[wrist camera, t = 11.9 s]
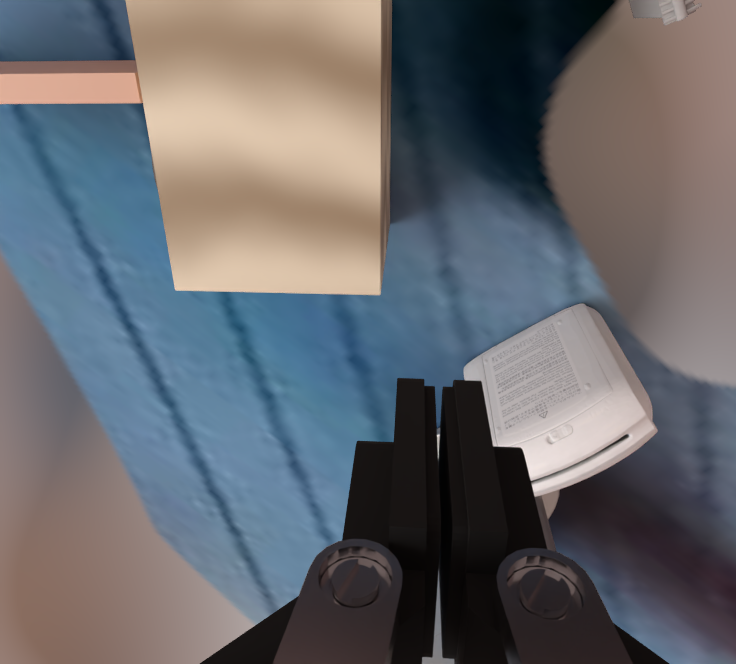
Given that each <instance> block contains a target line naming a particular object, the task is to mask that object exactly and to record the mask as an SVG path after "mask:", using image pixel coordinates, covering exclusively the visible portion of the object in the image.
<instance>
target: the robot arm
mask: <svg viewBox="0 0 736 664" xmlns="http://www.w3.org/2000/svg"><path fill="white" fill-rule="evenodd" d="M559 490H560V489H559ZM559 490H557V491H554V492H550V493H547V494H544V495H540V496H536V497H535V496H534V492H533V488H532V484H531V480H530V476H529V472H528V468H527V464H526V460H525V456H524V453H523V450H522V449H521V447H498V446H493V443H492V437H491V431H490V426H489V420H488V414H487V409H486V403H485V398H484V392H483V386H482V382H481V381H470V380H454V381H453V387H443V390H442V406H441V423H440V428H438V429H437V426H436V404H435V387H434V386H424V379H409V378H398V379H397V395H396V413H395V431H394V442H373V441H357V444H356V449H355V456H354V463H353V470H352V477H351V484H350V491H349V498H348V505H347V511H346V518H345V525H344V532H343V539H342V541H338V542H336V543H334V544H332V545H330V546H328V547H326V548H325V549H324V550H323V551H321V552H320V553H319V554H318V555H317V556H316V557H315V559H314V561H313V562H312V564H311V566H310V568H309V570H308V573H307V576H306V578H305V581H304V583H303V586H302V589H301V591H300V594H299V596H298V597H297V598H295V599H294V600H292V601H291V602H289V603H288V604H286V605H285V606H283V607H282V608H280V609H279V610H277V611H276V612H275V613H273V614H272V615H270V616H269V617H267V618H266V619H264V620H263V621H261V622H260V623H258V624H257V625H256V626H254V627H253V628H251V629H250V630H248V631H247V632H245V633H244V634H242V635H241V636H240V637H238V638H237V639H235V640H234V641H232V642H231V643H229V644H228V645H226V646H225V647H223V648H222V649H220V650H219V651H218V652H216V653H215V654H213V655H212V656H210V657H209V658H207V659H206V660H204V661H203V662H202V663H200V664H669V663H668V662H666V661H665V660H663V659H662V658H661V657H659V656H658V655H657V654H655V653H654V652H652V651H651V650H650V649H648V648H647V647H646V646H644V645H643V644H641V643H640V642H639V641H637V640H636V639H635V638H633V637H632V636H630V635H629V634H628V633H626V632H625V631H623V630H622V629H621V628H619V627H618V626H617V625H615V624H614V623H613V622H612V620H611V618H610V616H609V614H608V612H607V610H606V608H605V606H604V604H603V602H602V600H601V598H600V596H599V593H598V591H597V589H596V587H595V585H594V583H593V582H592V580H591V579H590V577H589V576H588V574H587V573H586V571H585V570H584V569H583V568H581V567H580V566H579V565H578V564H577V563H576V562H575V561H573V560H572V559H570V558H568V557H566V556H564V555H563V554H561V553H558V552H556V548H555V544H554V540H553V537H552V533H551V529H550V525H549V521H548V519H549V518H550V516H551V514H552V513H553V511H554V509H555V508H556V504H557V501H558V498H559Z"/></svg>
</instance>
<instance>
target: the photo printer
mask: <svg viewBox="0 0 736 664" xmlns="http://www.w3.org/2000/svg"><path fill="white" fill-rule="evenodd" d="M464 379H465V380H470V381H481V382H482V386H483V392H484V398H485V403H486V409H487V414H488V420H489V426H490V431H491V437H492V443H493V446H498V447H521V449H522V450H523V453H524V456H525V460H526V464H527V468H528V472H529V476H530V480H531V484H532V488H533V492H534V496H535V497H536V496H540V495H544V494H547V493H550V492H554V491H557V490H559V489H562V488H565V487H568V486H570V485H573V484H575V483H578V482H580V481H582V480H584V479H587V478H589V477H591V476H593V475H595V474H597V473H599V472H601V471H603V470H605V469H607V468H609V467H610V466H612V465H614V464H616V463H617V462H619V461H621V460H622V459H624V458H625V457H627V456H628V455H630V454H631V453H633V452H634V451H636V450H637V449H639V448H640V447H641V446H642V445H644V444H645V443H646V442H647V441H648V440H649V439H650V438H652V437H653V436H654V435H655V434H656V433H657V431H658V430H657V428H656V426H655V424H654V423H653V421H652V417H653V411H652V404H651V401H650V398H649V396H648V394H647V392H646V391H645V389H644V387H643V385H642V384H641V382H640V380H639V379H638V377H637V375H636V374H635V372H634V370H633V368H632V367H631V365H630V363H629V362H628V360H627V358H626V356H625V355H624V353H623V351H622V350H621V348H620V346H619V345H618V343H617V341H616V339H615V338H614V336H613V334H612V333H611V331H610V329H609V328H608V326H607V324H606V323H605V321H604V319H603V318H602V316H601V315H600V314H599V313H598V312H597V311H596V310H594V309H593V308H590V307H588V306H586V305H585V304H583V303H582V304H577V305H574V306H572V307H569V308H566V309H564V310H562V311H560V312H558V313H556V314H554V315H552V316H550V317H548V318H546V319H544V320H542V321H540V322H539V323H537V324H535V325H533V326H531V327H529V328H527V329H525V330H524V331H522V332H520V333H518V334H516V335H514V336H512V337H511V338H509V339H507V340H505V341H503V342H502V343H500V344H498V345H496V346H494V347H492V348H491V349H489V350H487V351H486V352H484V353H482V354H481V355H479V356H478V357H476V358H475V359H473V360H472V361H470V362H469V363H468V364H467V365H466V366H465V367H464Z"/></svg>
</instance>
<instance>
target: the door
mask: <svg viewBox="0 0 736 664" xmlns="http://www.w3.org/2000/svg"><path fill="white" fill-rule="evenodd" d="M142 102H143V99H142V93H141V88H140V82H139V76H138V70H137V64H136V60H111V61H18V62H0V104H77V103H142Z"/></svg>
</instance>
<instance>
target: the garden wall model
mask: <svg viewBox="0 0 736 664" xmlns="http://www.w3.org/2000/svg"><path fill="white" fill-rule="evenodd" d="M693 1H694V0H629V2H630V6H631V10H632V13H633V17H634V18H662V20H663V23H664V25H668V24H670V23H672V22H675V21H680V20H682V19H684V18H686V17H687V16H688V15H689V14H691V13H693V12H695V11H696V9H697V8H699V7H701V5H702V4H701V3H699V4H697V5H694V3H693Z"/></svg>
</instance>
